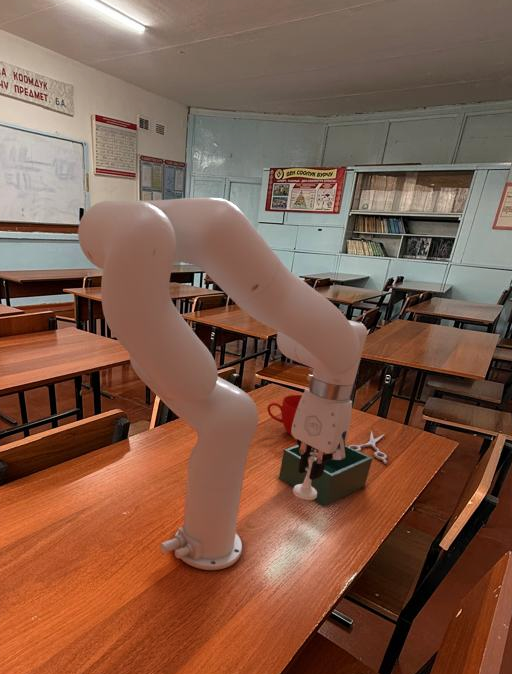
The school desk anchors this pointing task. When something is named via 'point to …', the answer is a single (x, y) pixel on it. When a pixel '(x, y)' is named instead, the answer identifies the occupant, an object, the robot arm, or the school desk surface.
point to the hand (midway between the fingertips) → (309, 474)
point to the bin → (329, 474)
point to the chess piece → (307, 482)
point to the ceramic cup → (287, 411)
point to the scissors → (372, 444)
